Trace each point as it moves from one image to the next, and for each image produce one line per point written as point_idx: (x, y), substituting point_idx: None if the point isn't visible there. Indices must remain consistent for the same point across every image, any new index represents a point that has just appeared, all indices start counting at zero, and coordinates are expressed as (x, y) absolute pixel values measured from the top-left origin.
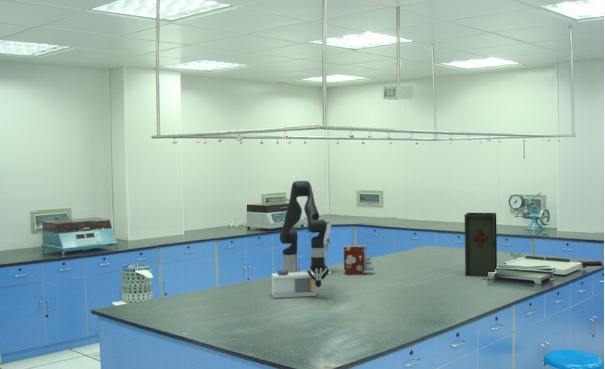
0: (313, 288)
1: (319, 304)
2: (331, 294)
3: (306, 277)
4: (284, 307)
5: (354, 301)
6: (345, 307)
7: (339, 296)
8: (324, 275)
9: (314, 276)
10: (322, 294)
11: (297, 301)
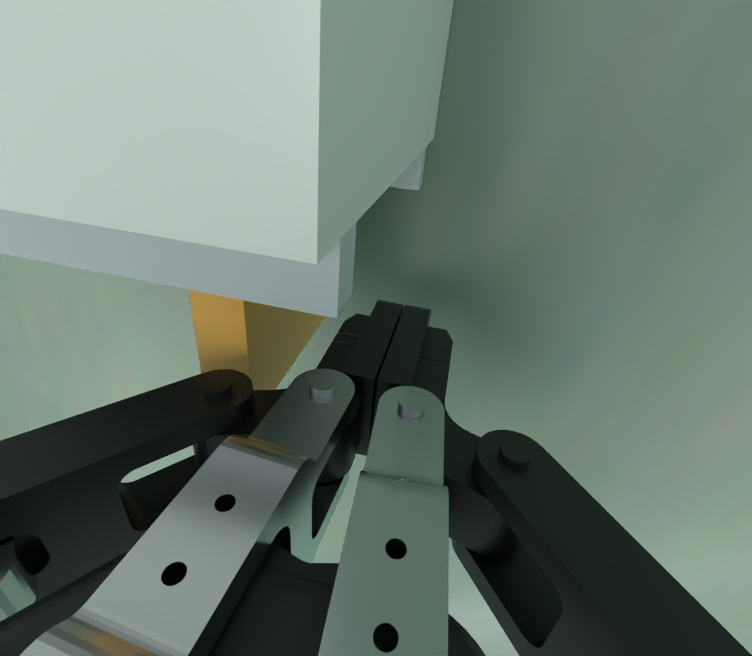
0: (311, 332)
1: (345, 498)
2: (731, 134)
3: (26, 251)
4: None
5: (707, 566)
6: (501, 629)
7: (741, 324)
8: (529, 628)
9: (273, 286)
10: (576, 70)
11: (169, 335)
